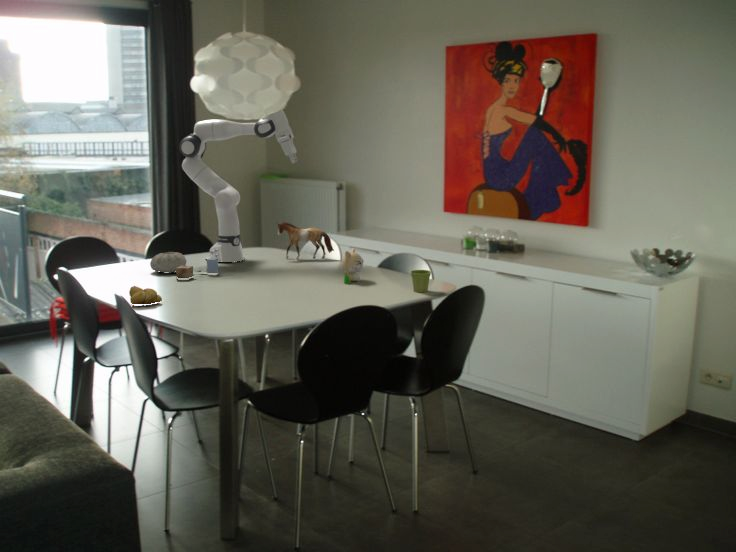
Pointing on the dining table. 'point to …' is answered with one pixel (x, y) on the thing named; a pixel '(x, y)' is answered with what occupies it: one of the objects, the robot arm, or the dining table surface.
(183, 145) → the robot arm
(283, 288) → the dining table surface
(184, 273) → the walnut cube
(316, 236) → the horse figurine
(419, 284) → the plant pot
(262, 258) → the dining table surface
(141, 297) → the bread roll
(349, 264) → the kitten
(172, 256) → the decorative shell
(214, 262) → the blue brick
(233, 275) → the dining table surface
